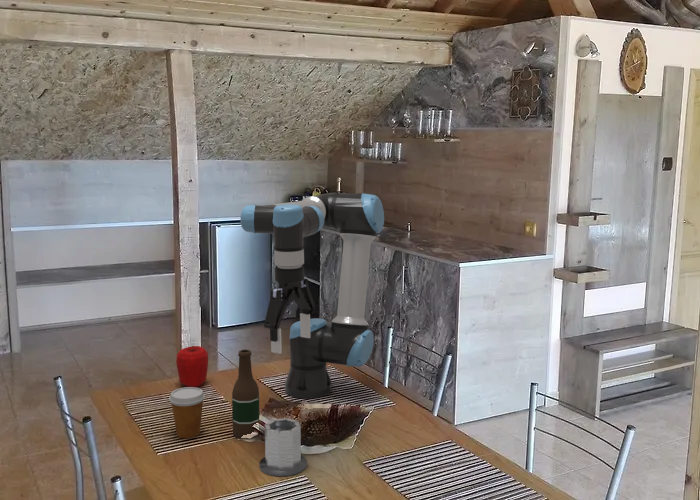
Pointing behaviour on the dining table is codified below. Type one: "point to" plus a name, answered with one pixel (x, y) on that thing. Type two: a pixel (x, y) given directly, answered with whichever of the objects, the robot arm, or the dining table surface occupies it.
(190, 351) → the apple
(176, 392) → the disposable coffee cup
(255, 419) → the beer bottle
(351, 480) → the dining table surface
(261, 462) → the duct stub
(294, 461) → the sleeve
